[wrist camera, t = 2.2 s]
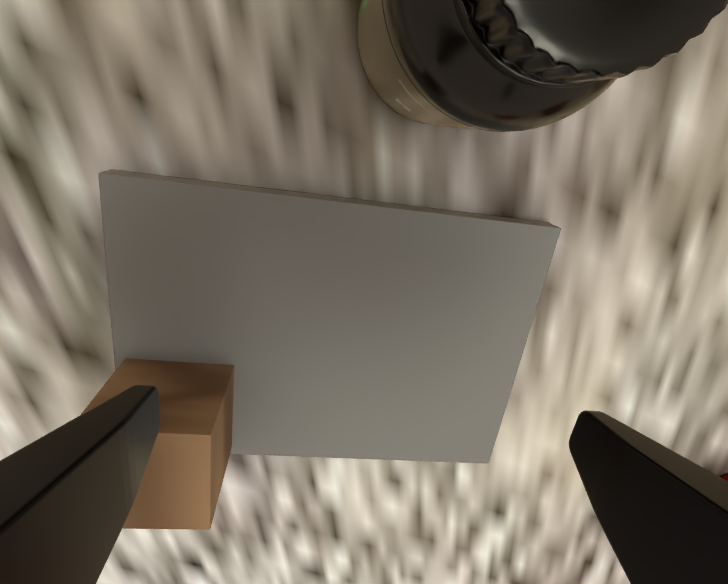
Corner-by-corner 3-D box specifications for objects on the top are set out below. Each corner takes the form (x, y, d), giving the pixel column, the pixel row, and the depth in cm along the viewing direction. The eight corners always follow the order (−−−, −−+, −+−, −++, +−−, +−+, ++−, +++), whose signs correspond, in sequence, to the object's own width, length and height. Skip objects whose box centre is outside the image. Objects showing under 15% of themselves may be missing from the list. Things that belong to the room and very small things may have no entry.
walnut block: (234, 365, 21) (210, 435, 17) (231, 446, 23) (210, 529, 18) (125, 358, 21) (69, 429, 16) (131, 442, 22) (83, 527, 18)
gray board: (548, 222, 21) (560, 228, 20) (481, 448, 26) (488, 463, 25) (111, 169, 18) (98, 173, 17) (131, 433, 24) (122, 449, 22)
